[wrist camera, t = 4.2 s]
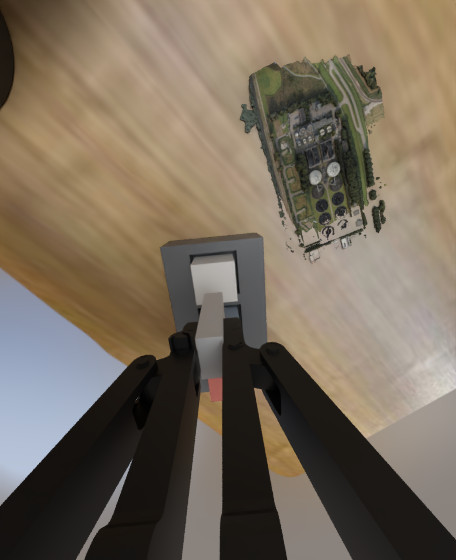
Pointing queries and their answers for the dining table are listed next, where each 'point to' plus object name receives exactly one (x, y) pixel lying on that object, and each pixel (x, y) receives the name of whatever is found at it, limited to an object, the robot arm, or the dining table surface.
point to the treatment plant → (317, 140)
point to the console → (247, 281)
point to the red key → (215, 389)
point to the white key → (214, 277)
